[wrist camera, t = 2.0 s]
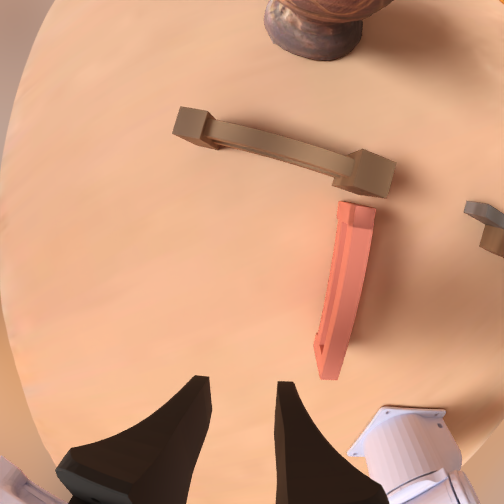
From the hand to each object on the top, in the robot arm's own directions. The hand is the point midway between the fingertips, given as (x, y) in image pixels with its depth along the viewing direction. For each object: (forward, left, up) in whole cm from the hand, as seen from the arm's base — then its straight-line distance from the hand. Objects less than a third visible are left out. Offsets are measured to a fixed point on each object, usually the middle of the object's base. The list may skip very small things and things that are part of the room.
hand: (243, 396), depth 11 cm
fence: (-9, -11, -10) cm, 18 cm away
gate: (-5, -3, -10) cm, 12 cm away
